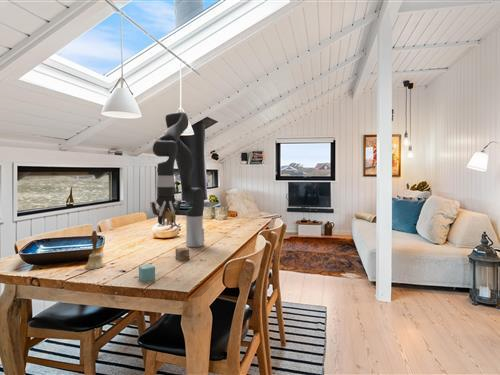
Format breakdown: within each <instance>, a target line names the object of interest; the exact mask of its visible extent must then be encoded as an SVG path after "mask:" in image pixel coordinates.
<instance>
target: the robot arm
mask: <svg viewBox="0 0 500 375" xmlns="http://www.w3.org/2000/svg"><path fill="white" fill-rule="evenodd" d="M165 123H166V124H165V125H166V127H167V128H166V130H164V133H163V134H162V135H161V137H159V138H158V139H156V140H155V142H154V143H153V145H152V152H153V154H154V155H155V156H156V157H161V158H162V157H164V158H165V157H166V158H167V157H168V158H167V160H165V161H161V162H160V161H159V162H158V163H157V165H156V166H157V167H156V168H157V169H156V171H157V178H156V200H155V201H150V202H149V203H150V207H151V208H150V209H151V211H152V213H153V215H155V216H157V223H158V224H159V225H161V226H162V224H163V221H162V216H161V215H162V212H163V210H164V209H166V208H168V209H169V212H174V213H175V215H176V214H179V211H180V209H181V208H180V207H181V205H182V201H181V200H179V199H176V198H175V197H176V196H175V188H176V187H175V184H176V183H175V176H174V175H175V164H176V166H177V170H178V175H179V179H180V185H181V192H182V198H183V200H184V202H185V203H187V204H190V205H191V204H192V207H191V208H190V209H188V210H186V212H185V223H186V224H185V225H186V226H185V228H186V229H185V232H186V233H185V235H186V237H185V240H186V242H185V243H186V244H185V245H186V247H189V248H200V247H202V246H205V229H204V228H203V221H204V220H203V218H204V217H203V213H204V210H205V192H204V190H203V188H201V187H193V185H192V184H193V183H192V174H193V171H194V168H195V162H194V158H193V153H192V151H191V149H190V148H189V147H188V146H187V145H186V144H184V142H183V141H182V140H181V139H180V137H181V135H182V134H184V132H185V131H186V130H187V128H188V127H189V118H188V115H187V113H186V112H185V111H177V112H176V111H175V112H169V113H167V114H165ZM174 204H175V208H174ZM157 205H158V208H159V209H158V208H156V207H157ZM157 209H158V213H157ZM172 223H173V224H174V221H173V218H172Z"/></svg>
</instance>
